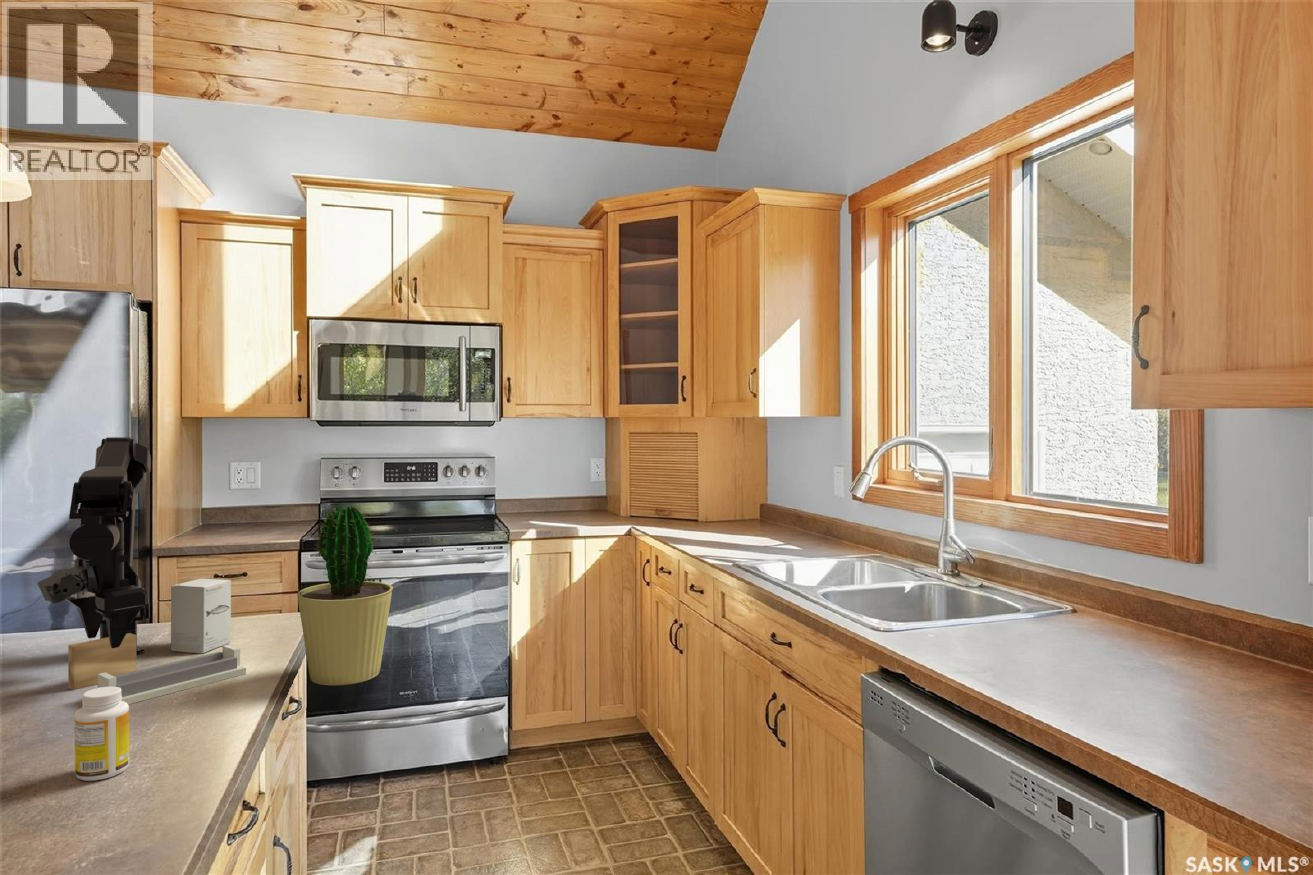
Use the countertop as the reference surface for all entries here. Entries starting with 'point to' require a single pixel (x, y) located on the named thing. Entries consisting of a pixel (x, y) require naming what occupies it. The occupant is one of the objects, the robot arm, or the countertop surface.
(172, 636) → the supplement box
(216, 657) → the track board
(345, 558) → the potted cactus
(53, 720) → the countertop surface
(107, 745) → the supplement bottle
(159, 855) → the countertop surface
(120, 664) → the door panel
